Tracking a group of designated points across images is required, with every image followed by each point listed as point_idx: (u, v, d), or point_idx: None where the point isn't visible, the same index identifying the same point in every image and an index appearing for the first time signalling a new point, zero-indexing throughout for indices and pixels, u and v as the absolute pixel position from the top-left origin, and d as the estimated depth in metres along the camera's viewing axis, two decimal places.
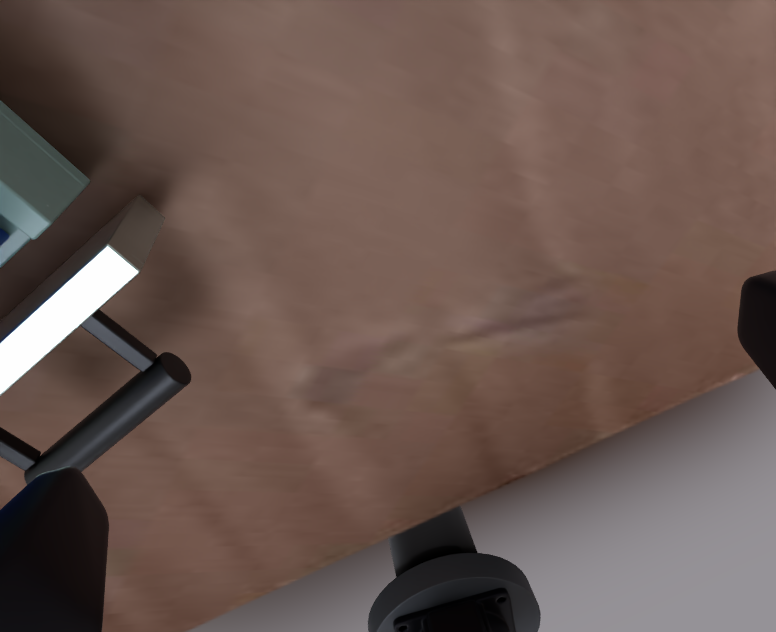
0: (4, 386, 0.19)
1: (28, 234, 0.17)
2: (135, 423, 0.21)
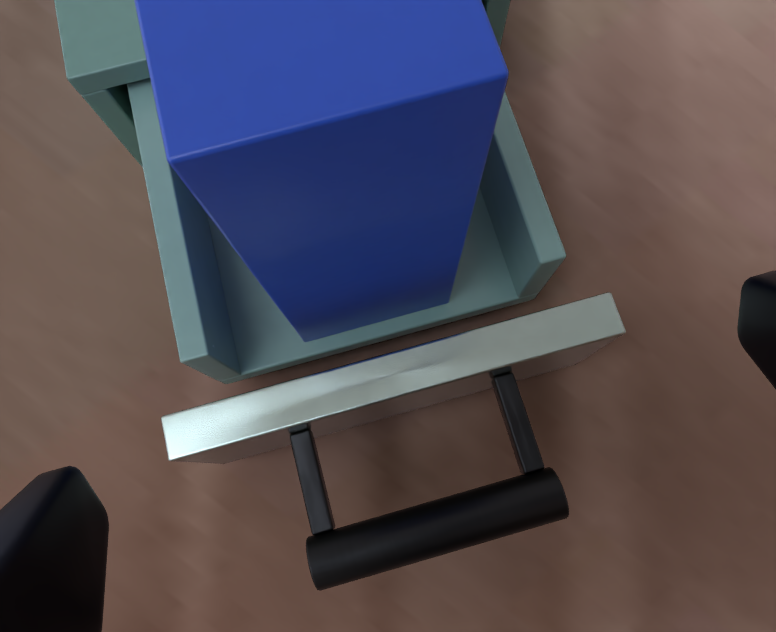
0: (414, 386, 0.16)
1: (540, 256, 0.17)
2: (483, 534, 0.16)
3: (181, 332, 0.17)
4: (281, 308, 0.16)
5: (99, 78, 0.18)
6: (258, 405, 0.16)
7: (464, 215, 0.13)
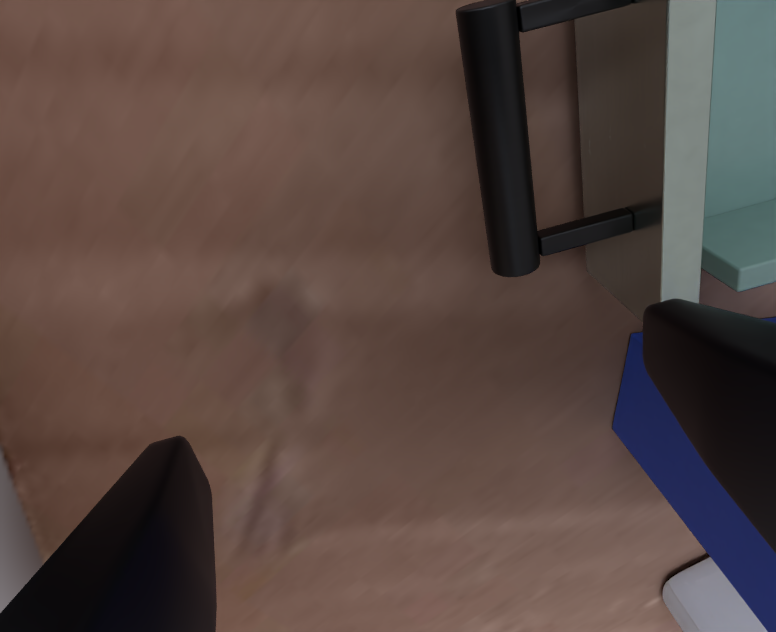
0: (669, 143, 0.15)
1: (746, 269, 0.17)
2: (497, 199, 0.16)
3: None
4: None
5: None
6: None
7: (714, 558, 0.21)
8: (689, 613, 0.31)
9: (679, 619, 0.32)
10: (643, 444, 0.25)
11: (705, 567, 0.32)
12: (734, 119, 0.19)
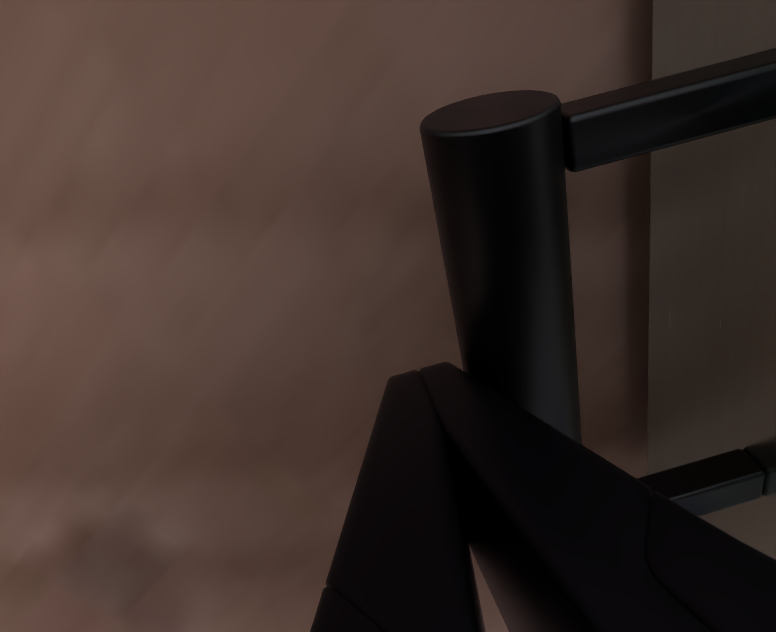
0: None
1: None
2: None
3: None
4: None
5: None
6: None
7: None
8: None
9: None
10: None
11: None
12: None
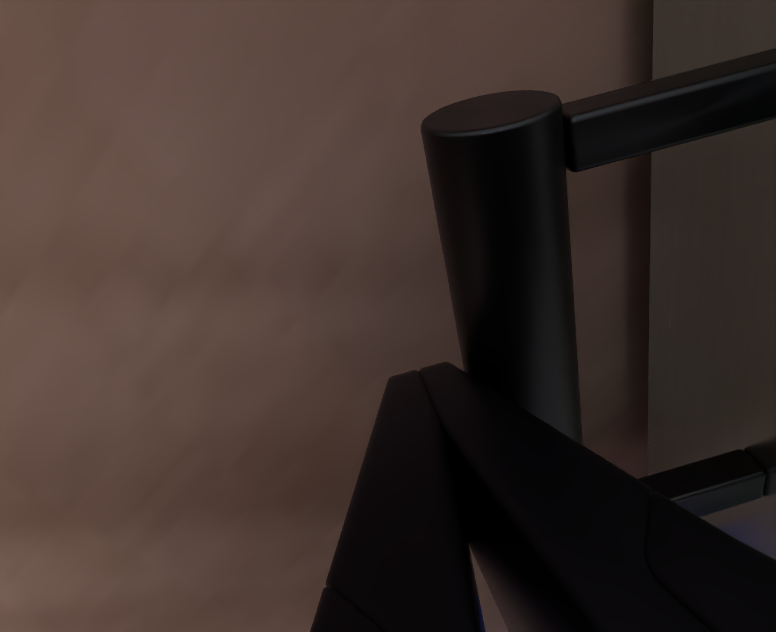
0: None
1: None
2: None
3: None
4: None
5: None
6: None
7: None
8: None
9: None
10: None
11: None
12: None
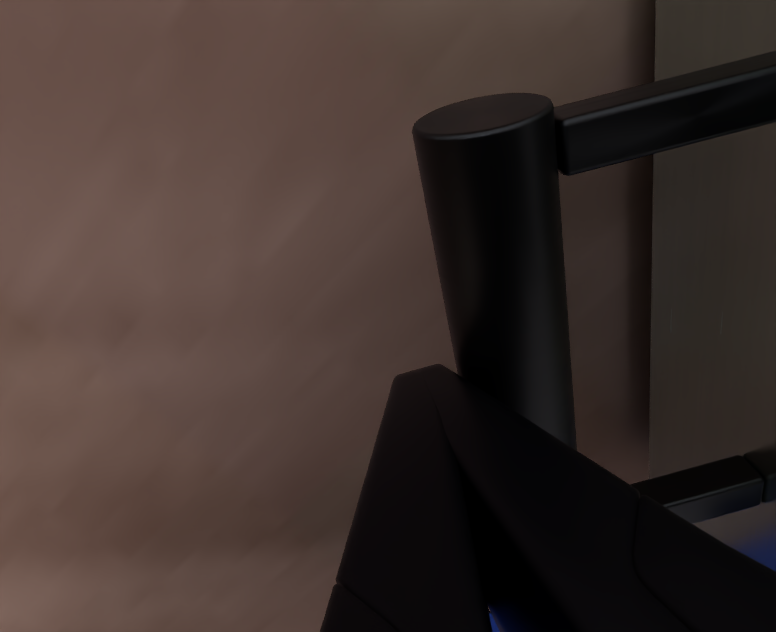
0: None
1: None
2: None
3: None
4: None
5: None
6: None
7: None
8: None
9: None
10: None
11: None
12: None
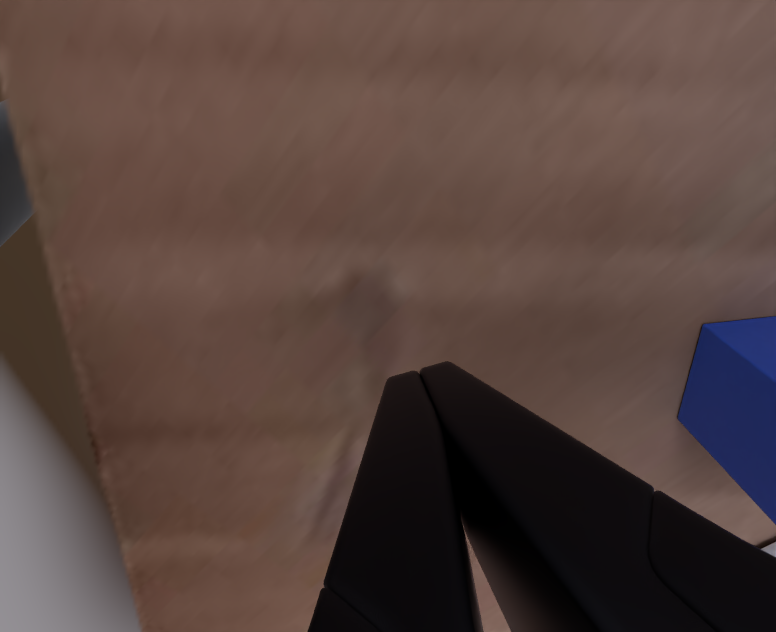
0: None
1: None
2: None
3: None
4: (775, 384, 0.21)
5: None
6: None
7: None
8: None
9: None
10: (714, 433, 0.25)
11: None
12: None
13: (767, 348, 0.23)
